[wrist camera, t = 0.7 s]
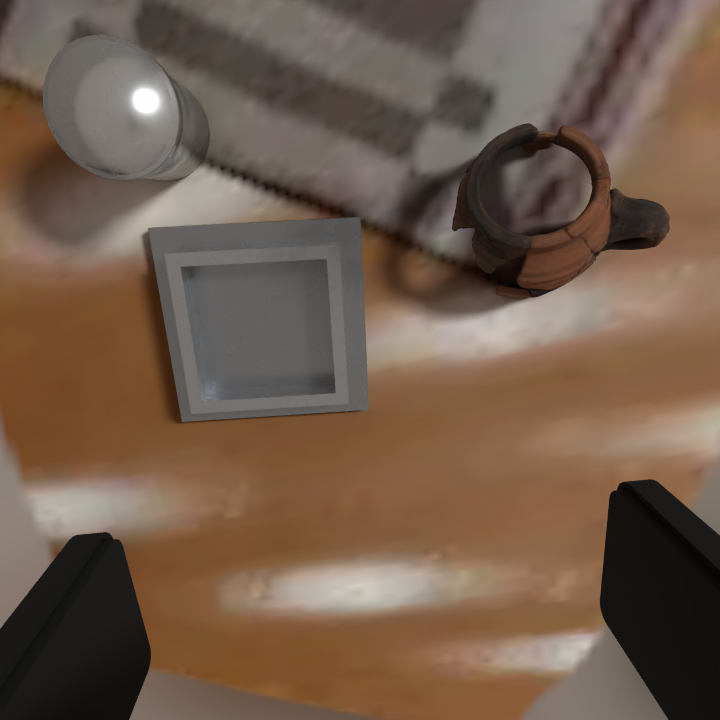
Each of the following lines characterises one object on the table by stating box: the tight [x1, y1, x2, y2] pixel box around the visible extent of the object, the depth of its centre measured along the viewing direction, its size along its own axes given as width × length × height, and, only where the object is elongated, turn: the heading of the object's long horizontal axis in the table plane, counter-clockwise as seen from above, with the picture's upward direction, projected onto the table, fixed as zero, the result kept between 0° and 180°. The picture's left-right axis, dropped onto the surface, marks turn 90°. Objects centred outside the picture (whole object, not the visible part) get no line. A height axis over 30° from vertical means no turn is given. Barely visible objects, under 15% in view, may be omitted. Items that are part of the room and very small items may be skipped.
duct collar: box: [148, 217, 369, 422], centre depth 32 cm, size 13×13×3 cm
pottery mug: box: [452, 123, 670, 298], centre depth 30 cm, size 12×10×8 cm
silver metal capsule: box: [43, 35, 210, 181], centre depth 26 cm, size 6×6×7 cm
